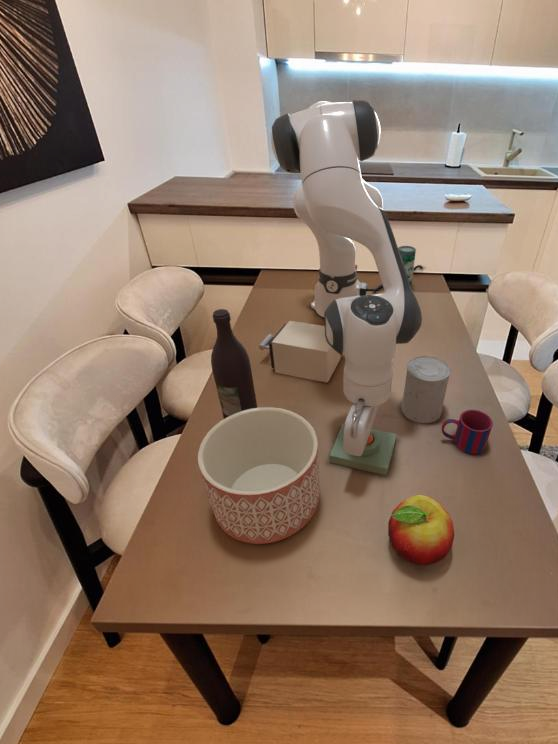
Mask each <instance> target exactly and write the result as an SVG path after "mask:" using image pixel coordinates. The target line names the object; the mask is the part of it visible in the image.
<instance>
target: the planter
mask: <svg viewBox="0 0 558 744" xmlns="http://www.w3.org/2000/svg"><path fill="white" fill-rule="evenodd" d="M318 440H319V439H318V437H317V433H316V431H315V429H314V427H313V426H312V424H311V423H310V422H309V421H308V420H307V419H306V418H305V417H303V416H301V415H300V414H298V413H296V412H294V411H292V410H288V409H285V408H280V407H270V406H263V407H262V406H261V407H257V408H253V409H248V410H244V411H241V412H238V413H235V414H233V415H231V416H229V417H227V418H225V419H224V418H223V419H222V420H220V421H219V422H218V423H216V424H215V425H214V426H213V427H212V428H211V429H210V430H209V431H208V432H207V433H206V434H205V436H204V437H203V439H202V441H201V443H200V445H199V448H198V452H197V464H198V469H199V472H200V474H201V478H202V481H203V485H204V488H205V491H206V494H207V498H208V500H209V503H210V507H211V509H212V512H213V515H214V519H215V521H216V523H217V524H218V526H219V528H220V529H221V530H222V531H223V532H224V533H226V534H227V535H228V536H230V537H231V538H233V539H235V540H237V541H240V542H243V543H247V544H255V545H263V544H264V545H265V544H271V543H275V542H280V541H282V540H284V539H287V538H289V537H291V536H293V535H294V534H296V533H298V532H299V531H300V530H301V529H303V528H304V527H305V526H306V525H307V524H308V523H309V521H310V520H311V519H312V518H313V517H314V514H315V512H316V511H317V508H318V505H319V502H320V497H321V488H320V465H319V464H320V463H319V441H318Z"/></svg>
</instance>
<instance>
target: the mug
mask: <svg viewBox="0 0 558 744" xmlns="http://www.w3.org/2000/svg"><path fill="white" fill-rule="evenodd" d="M448 424H454V425H456V426H457V427H456V430H455V434H449V433H448V432H447V431H445V428H446V426H447V425H448ZM493 425H494V422H493V419H492V418H491V417H490V415H488V414H487V413H485V412H483V411H481V410H477V409H467V410H464V411H463V412H461V413H460V415H459V419H454V418H448V419H446V420H444V421H443V423H442V425H441V433H442V435H443V436H445V437H446V438H447V439H450V440H452V441H453V442H454V444H455V446H456V448H457V449H459V451H461V452H463V453H465V454H469V455H478V454H481V453H482V452H484V451H485V448H486V446H487V444H488V440H489V437H490V435H491V432H492V429H493Z"/></svg>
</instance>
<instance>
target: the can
mask: <svg viewBox="0 0 558 744" xmlns="http://www.w3.org/2000/svg"><path fill="white" fill-rule="evenodd" d="M398 250H399V253H400V256H401V259H402V262H403V265H404V268H405V272H406V275H407V278H408V281H409V284H410V286H411V287H412V285H413V278H414V277H413V276H414V271H413V269H414V267H415V261H416V253H417V248H415V247H414V246H411V245H400V246H399V247H398Z"/></svg>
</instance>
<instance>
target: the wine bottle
mask: <svg viewBox="0 0 558 744" xmlns="http://www.w3.org/2000/svg"><path fill="white" fill-rule="evenodd" d="M212 319H213V323H214V325H215V328H216V339H215V342H214V345H213V347H212V351H211V355H210V364H211V365H210V366H211V370H212V374H213V379H214V383H215V388H216V392H217V396H218V401H219V404H220V409H221V414H222V418H223V420H224V419H225V418H227V417H229V416H231V415H233V414H235V413H238V412H241V411H244V410H248V409H253V408H258V402H257V396H256V391H255V384H254V383H255V382H254V378H253V372H252V366H251V365H252V364H251V361H250V357H249V354H248V352H247V350H246V348H245V347H244V345H243V343H242V342H241V341H239V340H238V339H237V337H236V336H235V334H234V332H233V330H232V325H231V320H232V318H231V313H230V312H229V310H228V309H224V308H220V309H216V310H214V311H213V313H212Z"/></svg>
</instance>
